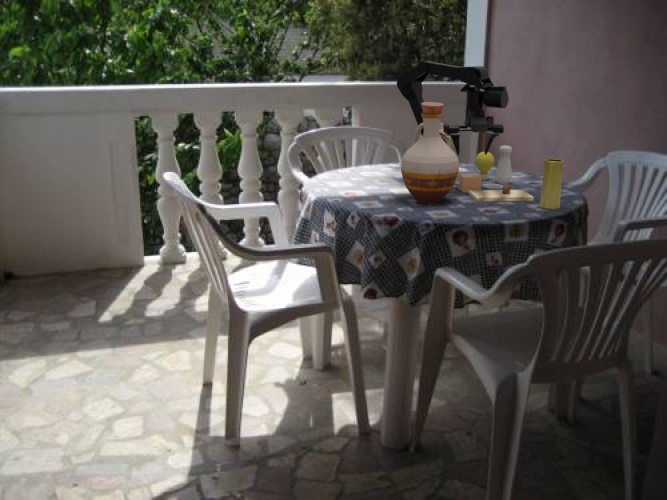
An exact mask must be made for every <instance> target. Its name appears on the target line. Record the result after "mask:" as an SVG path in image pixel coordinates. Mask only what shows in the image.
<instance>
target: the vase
mask: <svg viewBox="0 0 667 500" xmlns="http://www.w3.org/2000/svg"><path fill="white" fill-rule="evenodd" d="M563 165H564V160H563V159H560V158H545V159H544V163H543V174H542V183H541V191H540V196H539V197H540V198H539V204H538V206H539V208H541V209H545V210H559V209H560V208H561V196H562V195H561V194H562V193H561V192H562V182H563V181H562V179H563V167H564V166H563Z"/></svg>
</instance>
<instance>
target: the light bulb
mask: <svg viewBox="0 0 667 500" xmlns="http://www.w3.org/2000/svg"><path fill="white" fill-rule="evenodd" d="M474 160H475V161H474V163H475V165H476V167H477V169H478V171H479V174H478V175H479V176H481V177H482V180H481V181H487V180H488V177H489V171H490V170H491V169H492V167H493V166H494V164H495V157H494V155H493V154H492V153H491V152H490V151H488V153H487V155H485V151H481V152H479V153H478V154H477V155H476V156H475V159H474Z"/></svg>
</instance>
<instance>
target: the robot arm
mask: <svg viewBox="0 0 667 500" xmlns="http://www.w3.org/2000/svg"><path fill="white" fill-rule="evenodd" d="M429 75H434V76H441V77H447V78H452V79H455V80H458V81H460V82H462V83H463V84H465V85H464V86H463V87H462V88H460V90H459V91H460V92H461V93H466V95H465V96H466V97H465V108H464V114H465V115H464V121H463V122H464V123H463V125H460V124H458V123H456V122H451V123H449V122H446V123H444V124H443V132H445V133H447V134H448V135H449V136H451V138H452V144H453V145H454V149H455V152H456V156H459V155H460V152H461V151H460V136H461V134H459V133H460V132H473V133H485V138H484V151H483V152H485V155H487V153H488V152H489V150H490V148H491V145H492V143H493V141H494V139H495V138H496V137H499V136H500V134H504V132H505V126H504V125H503V123H499V122H494V121H495V120H494V119H495V118H494V116H493V115H491V116H490V115H489V116H488V115H487V116H486V115H485V110H484V109H485V108H484V107H486V108H490V109H491V108H492V109H493V108H495V109H506V108H507V106H508V104H509V100H510V99H509V97H510V96H509V94H508V90H507V86H506V85H501V86H495V85H494V82H493V81H492V80H491V77H490V76H489V72H488V69H487V67H486V66H482V65H478V66H475V65H474V66H459V65H453V64H448V63H440V62H435V61H433V60H423V61H421V62H420V63H418V64H417V65H416V66H414V67H412V68H411V69H410V70H408V71H407V72H406V73H403V74H401V75H400V76H399V77H398V78H397V80H396V87H397V89H398V91H399V92H400V94H401V96H403V98H404V99H406V101H408V104H409V106H410V109H411V111H412V114H413V116H414V119H415V122H416V124H417V127H418V126H419V125H420V124H421V123H423V117H422V116H421V113H423V110H422V105H421V103H423V102H425V101H424V99H423V84H422V83H423V82H424V81H425V80H426V79H428V76H429ZM420 132H421V135H422V136H423V134H424V127H423V128H422V129H421V131H420ZM442 140H443V141H444V142H445V143H446V140H445V138H444V139H442ZM446 144H447V143H446Z"/></svg>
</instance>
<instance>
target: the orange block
mask: <svg viewBox="0 0 667 500" xmlns="http://www.w3.org/2000/svg"><path fill="white" fill-rule="evenodd" d="M482 181H483V180H482V177H481V176H479V174H478V173H458V188H457V189H458V190H459V191H460V192H462V193H468V190H482Z"/></svg>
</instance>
